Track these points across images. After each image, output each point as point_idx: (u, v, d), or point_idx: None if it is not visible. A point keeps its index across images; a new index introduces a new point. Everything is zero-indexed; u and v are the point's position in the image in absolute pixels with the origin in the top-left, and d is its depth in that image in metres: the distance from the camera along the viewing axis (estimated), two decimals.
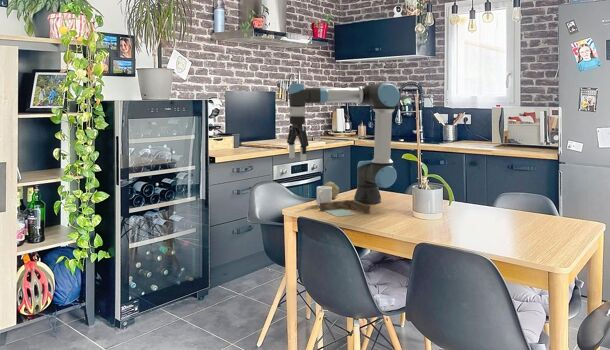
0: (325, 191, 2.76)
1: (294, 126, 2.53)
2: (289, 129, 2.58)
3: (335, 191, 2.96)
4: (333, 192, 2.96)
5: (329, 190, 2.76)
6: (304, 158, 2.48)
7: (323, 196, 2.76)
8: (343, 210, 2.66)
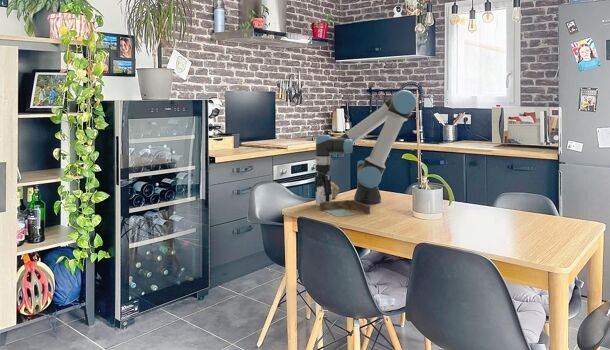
0: None
1: (319, 172, 2.77)
2: (315, 176, 2.82)
3: (335, 191, 2.96)
4: (333, 192, 2.96)
5: None
6: None
7: (323, 196, 2.75)
8: (343, 210, 2.66)
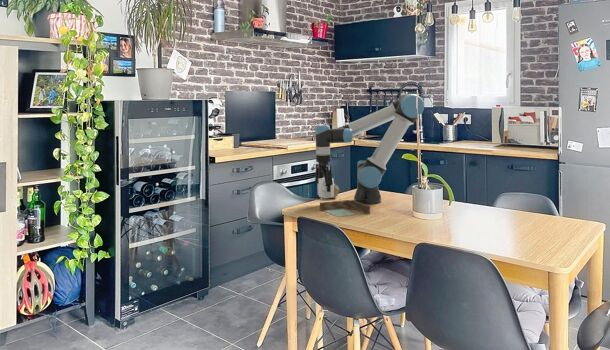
0: None
1: (320, 163, 2.76)
2: (316, 168, 2.81)
3: (335, 191, 2.96)
4: None
5: None
6: (329, 195, 2.73)
7: None
8: (343, 210, 2.66)
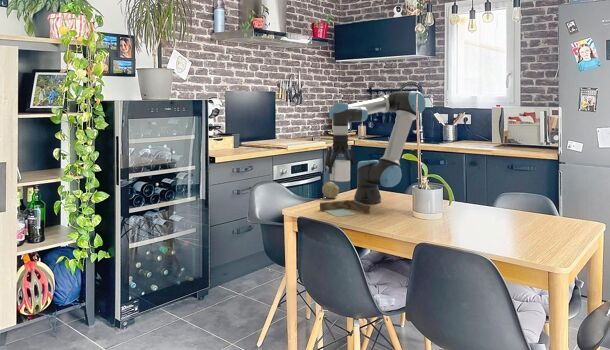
0: (334, 164, 2.56)
1: None
2: None
3: (335, 191, 2.96)
4: (333, 192, 2.96)
5: (336, 164, 2.54)
6: (331, 178, 2.57)
7: None
8: (343, 210, 2.66)
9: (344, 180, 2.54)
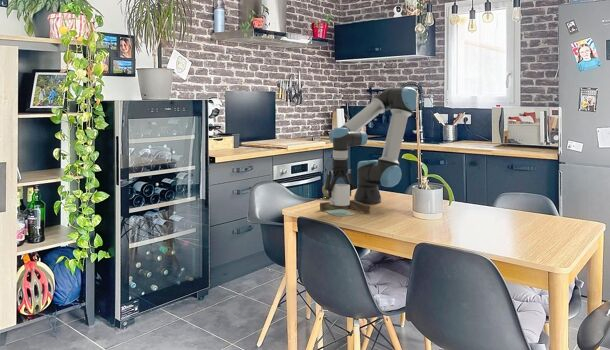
0: (333, 188, 2.58)
1: None
2: None
3: None
4: None
5: (336, 188, 2.56)
6: (331, 202, 2.58)
7: None
8: (343, 210, 2.66)
9: (344, 204, 2.56)
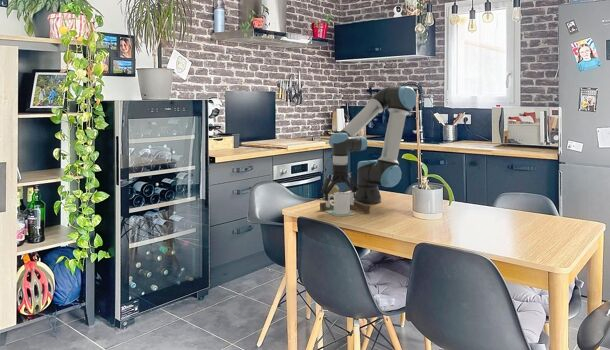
0: (334, 196, 2.59)
1: None
2: None
3: (335, 191, 2.96)
4: (333, 192, 2.96)
5: (336, 197, 2.57)
6: (327, 205, 2.58)
7: None
8: None
9: (343, 213, 2.57)
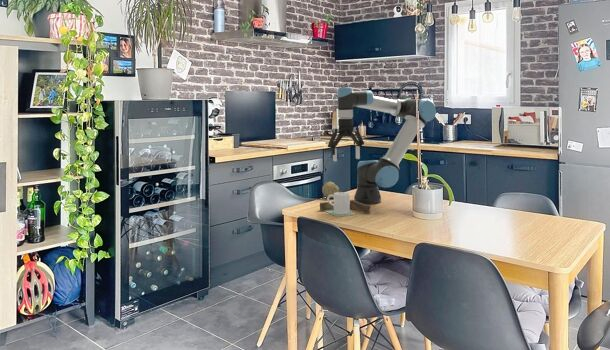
0: (334, 196, 2.59)
1: None
2: None
3: (335, 191, 2.96)
4: (333, 192, 2.96)
5: (336, 197, 2.57)
6: (334, 159, 2.61)
7: None
8: None
9: (344, 213, 2.57)
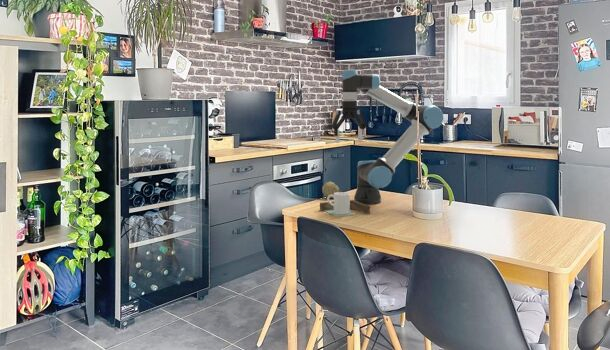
0: (334, 196, 2.59)
1: None
2: None
3: (335, 191, 2.96)
4: (333, 192, 2.96)
5: (336, 197, 2.57)
6: (337, 140, 2.65)
7: None
8: None
9: (344, 213, 2.57)
